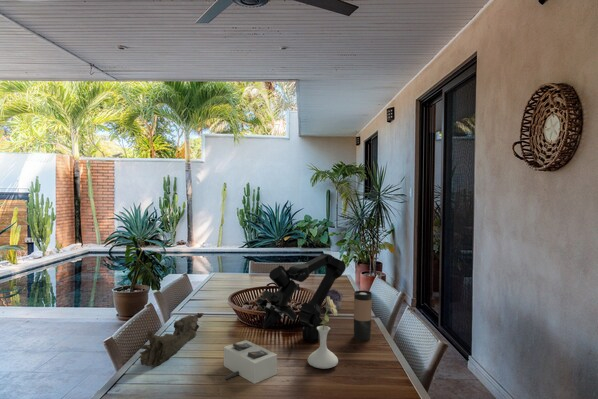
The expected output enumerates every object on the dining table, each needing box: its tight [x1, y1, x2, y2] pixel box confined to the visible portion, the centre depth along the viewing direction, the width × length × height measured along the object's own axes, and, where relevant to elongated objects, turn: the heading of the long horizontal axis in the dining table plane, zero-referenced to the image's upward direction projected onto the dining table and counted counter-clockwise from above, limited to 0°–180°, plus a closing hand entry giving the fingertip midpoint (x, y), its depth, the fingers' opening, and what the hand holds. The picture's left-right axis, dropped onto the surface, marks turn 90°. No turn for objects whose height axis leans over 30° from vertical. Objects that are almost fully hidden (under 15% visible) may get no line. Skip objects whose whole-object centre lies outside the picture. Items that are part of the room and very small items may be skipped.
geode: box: [324, 288, 344, 314], centre depth 218 cm, size 20×12×10 cm, turn 176°
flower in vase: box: [307, 296, 339, 370], centre depth 147 cm, size 13×11×25 cm
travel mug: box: [353, 290, 373, 342], centre depth 174 cm, size 8×8×20 cm
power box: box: [223, 339, 278, 384], centre depth 140 cm, size 15×18×7 cm
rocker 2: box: [248, 351, 268, 358], centre depth 138 cm, size 6×4×1 cm, turn 135°
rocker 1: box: [232, 342, 250, 350], centre depth 145 cm, size 6×4×1 cm, turn 135°
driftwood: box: [139, 312, 205, 368], centre depth 159 cm, size 4×52×14 cm, turn 173°
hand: (264, 327), depth 152 cm, fingers closed
